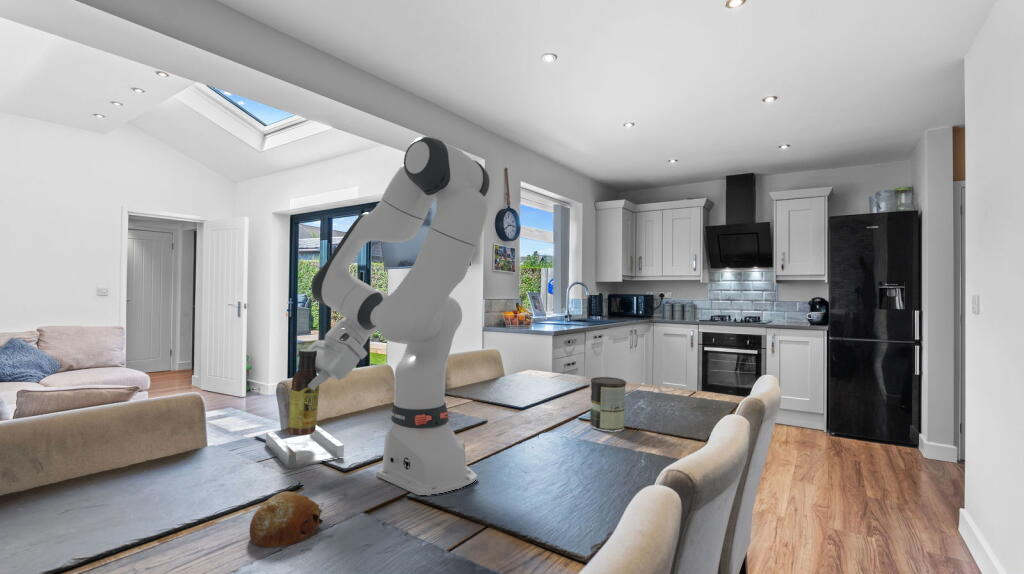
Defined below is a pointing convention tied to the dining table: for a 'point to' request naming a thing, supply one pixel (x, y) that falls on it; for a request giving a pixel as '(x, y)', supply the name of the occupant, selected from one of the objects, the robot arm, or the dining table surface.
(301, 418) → the sauce bottle
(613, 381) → the coffee can
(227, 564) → the dining table surface
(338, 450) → the track
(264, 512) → the bread roll
